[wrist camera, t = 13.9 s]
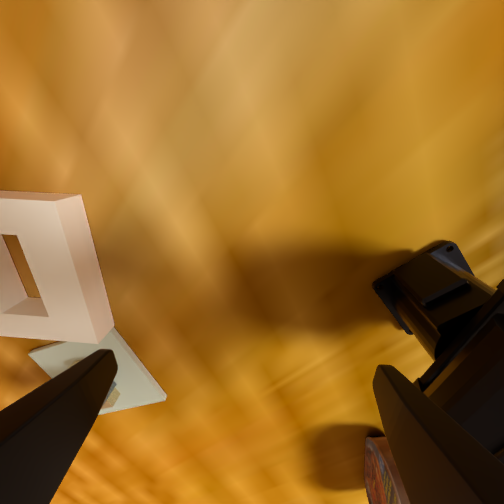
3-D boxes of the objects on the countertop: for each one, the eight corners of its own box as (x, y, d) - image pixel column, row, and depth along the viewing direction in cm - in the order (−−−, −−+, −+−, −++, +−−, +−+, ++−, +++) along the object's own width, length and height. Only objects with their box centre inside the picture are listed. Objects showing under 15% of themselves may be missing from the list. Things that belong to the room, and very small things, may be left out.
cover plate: (80, 194, 19) (54, 201, 16) (114, 325, 24) (98, 344, 22) (-62, 187, 19) (-106, 193, 17) (2, 316, 25) (-26, 333, 22)
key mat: (112, 324, 24) (108, 329, 23) (167, 395, 28) (165, 400, 27) (32, 349, 26) (27, 354, 26) (93, 411, 30) (90, 416, 30)
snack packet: (366, 420, 27) (403, 528, 19) (395, 419, 27) (445, 529, 19) (362, 488, 33) (390, 592, 25) (386, 488, 33) (422, 594, 25)
